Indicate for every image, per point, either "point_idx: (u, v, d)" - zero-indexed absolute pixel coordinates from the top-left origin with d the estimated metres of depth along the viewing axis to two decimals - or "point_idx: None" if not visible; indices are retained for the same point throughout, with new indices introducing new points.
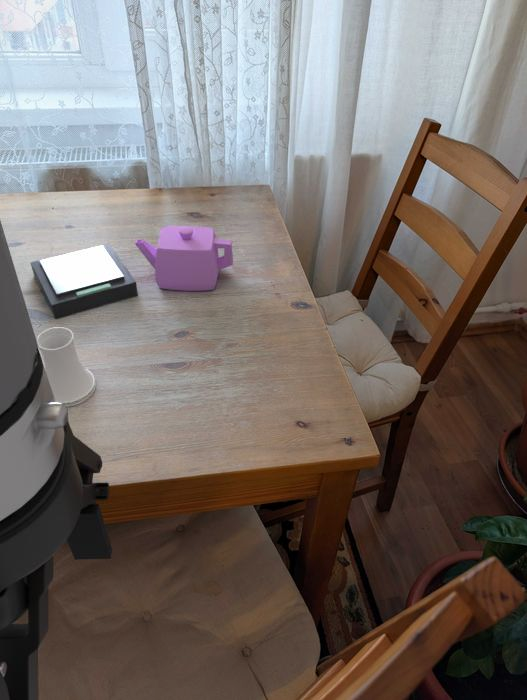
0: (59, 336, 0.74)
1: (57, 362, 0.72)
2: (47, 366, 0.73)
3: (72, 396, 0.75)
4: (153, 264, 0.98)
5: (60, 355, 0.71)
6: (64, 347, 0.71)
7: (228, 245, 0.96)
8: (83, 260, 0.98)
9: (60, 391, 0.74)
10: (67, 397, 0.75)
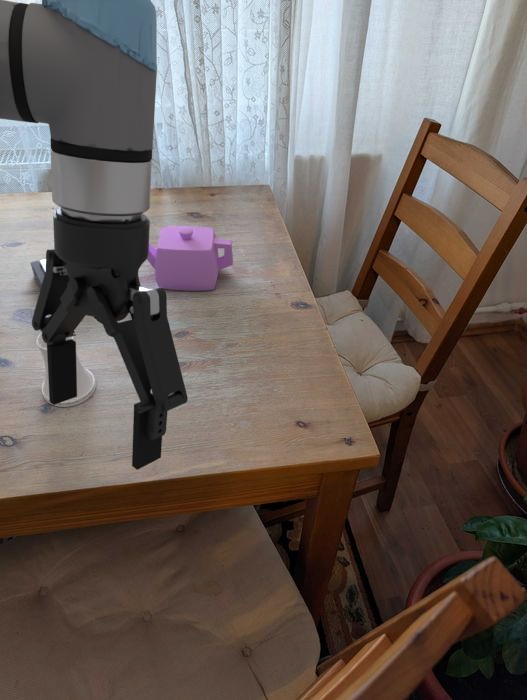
0: None
1: None
2: (47, 366, 0.73)
3: None
4: (153, 264, 0.98)
5: None
6: None
7: (228, 245, 0.96)
8: None
9: None
10: None
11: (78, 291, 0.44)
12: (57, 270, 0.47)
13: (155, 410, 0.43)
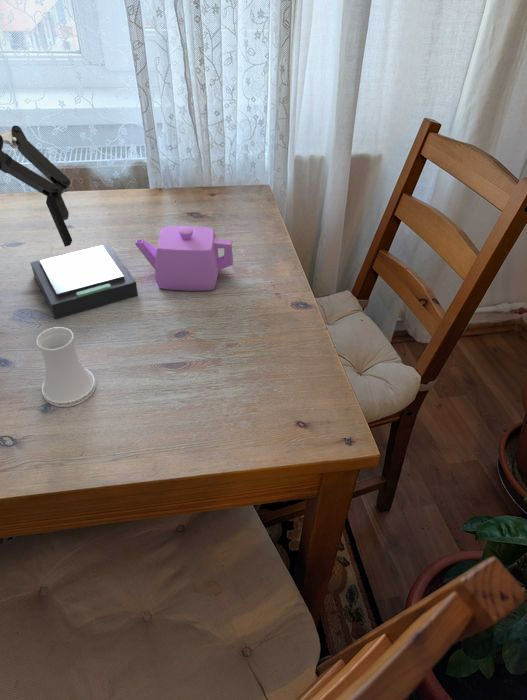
0: (59, 336, 0.74)
1: (57, 362, 0.72)
2: (47, 366, 0.73)
3: (72, 396, 0.75)
4: (153, 264, 0.98)
5: (60, 355, 0.71)
6: (64, 347, 0.71)
7: (228, 245, 0.96)
8: (83, 260, 0.98)
9: (60, 391, 0.74)
10: (67, 397, 0.75)
11: None
12: None
13: (60, 193, 0.71)
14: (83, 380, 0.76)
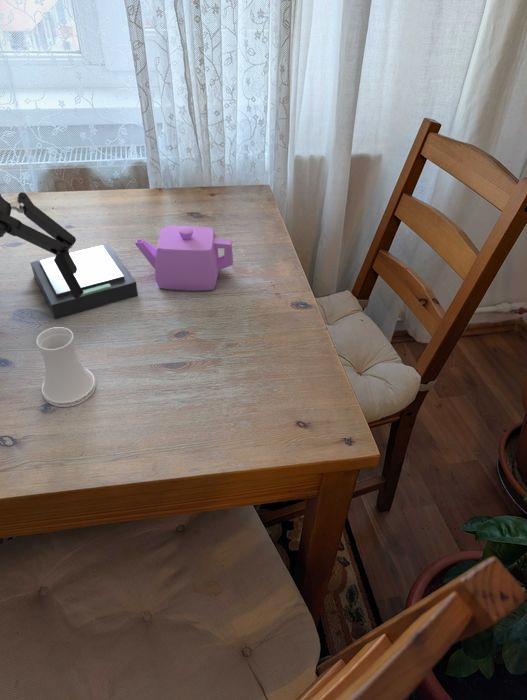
0: (59, 336, 0.74)
1: (57, 362, 0.72)
2: (47, 366, 0.73)
3: (72, 396, 0.75)
4: (153, 264, 0.98)
5: (60, 355, 0.71)
6: (64, 347, 0.71)
7: (228, 245, 0.96)
8: (83, 260, 0.98)
9: (60, 391, 0.74)
10: (67, 397, 0.75)
11: None
12: None
13: (67, 250, 0.77)
14: (83, 380, 0.76)
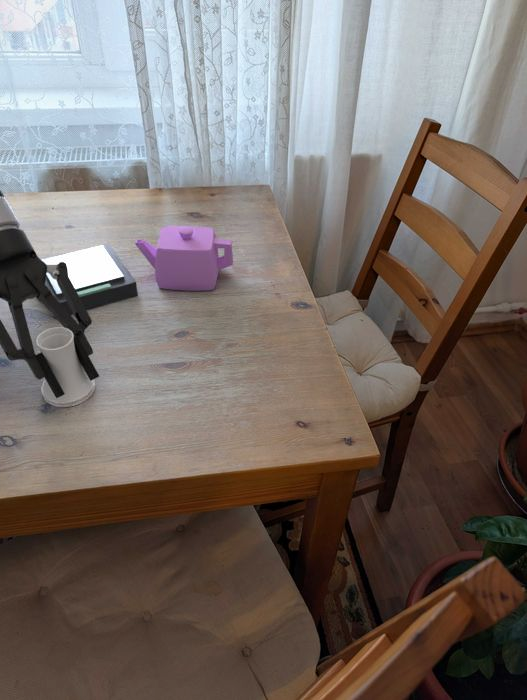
0: (59, 336, 0.74)
1: (57, 362, 0.72)
2: None
3: (72, 396, 0.75)
4: (153, 264, 0.98)
5: (60, 355, 0.71)
6: (64, 347, 0.71)
7: (228, 245, 0.96)
8: (83, 260, 0.98)
9: None
10: (67, 397, 0.75)
11: None
12: None
13: (83, 332, 0.75)
14: (83, 380, 0.76)
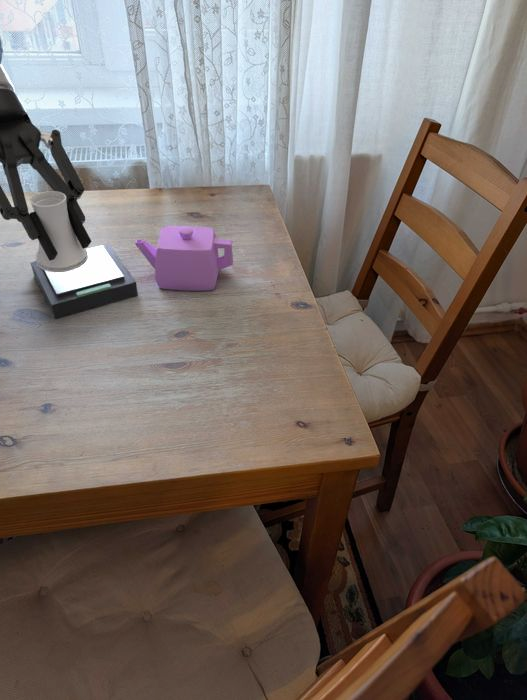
0: (52, 201, 0.76)
1: (50, 222, 0.74)
2: None
3: (65, 262, 0.77)
4: (153, 264, 0.98)
5: (53, 214, 0.73)
6: (57, 205, 0.73)
7: (228, 245, 0.96)
8: None
9: None
10: (60, 262, 0.77)
11: None
12: None
13: (76, 199, 0.77)
14: (76, 247, 0.78)
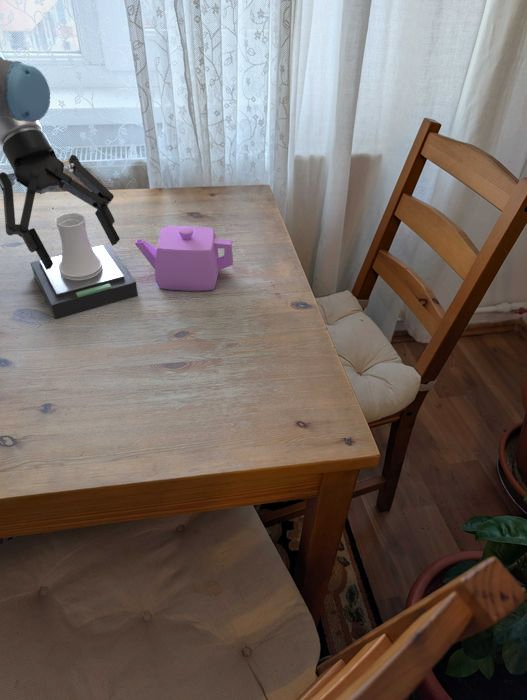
0: (73, 221, 0.91)
1: (72, 239, 0.89)
2: (64, 244, 0.90)
3: (84, 271, 0.92)
4: (153, 264, 0.98)
5: (74, 232, 0.88)
6: (78, 225, 0.88)
7: (228, 245, 0.96)
8: None
9: (74, 266, 0.92)
10: (80, 272, 0.92)
11: (39, 174, 0.88)
12: (12, 180, 0.86)
13: (107, 205, 0.94)
14: (92, 259, 0.93)
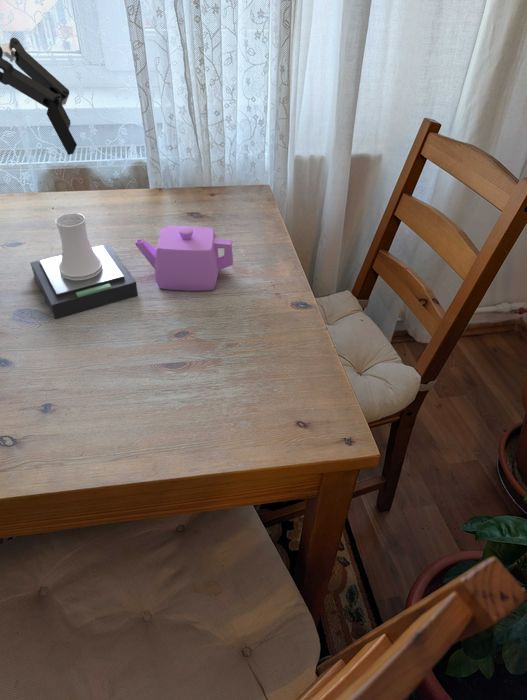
0: (73, 221, 0.91)
1: (72, 239, 0.89)
2: (64, 244, 0.90)
3: (84, 271, 0.92)
4: (153, 264, 0.98)
5: (74, 232, 0.88)
6: (78, 225, 0.88)
7: (228, 245, 0.96)
8: None
9: (74, 266, 0.92)
10: (80, 272, 0.92)
11: None
12: None
13: (61, 102, 0.75)
14: (92, 259, 0.93)
